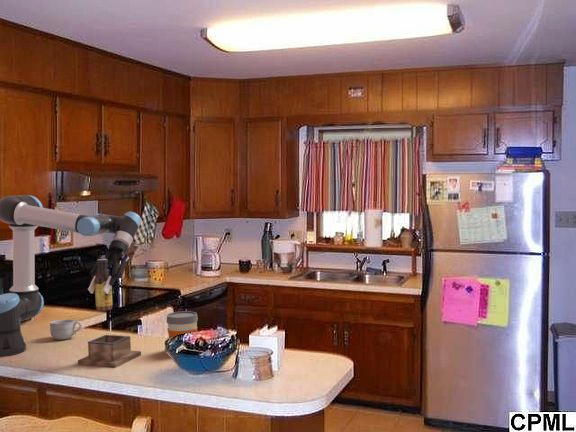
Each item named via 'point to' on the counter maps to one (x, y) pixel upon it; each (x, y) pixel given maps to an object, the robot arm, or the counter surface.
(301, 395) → the counter surface
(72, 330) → the teacup
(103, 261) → the sauce bottle
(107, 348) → the box on a tray
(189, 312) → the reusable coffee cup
